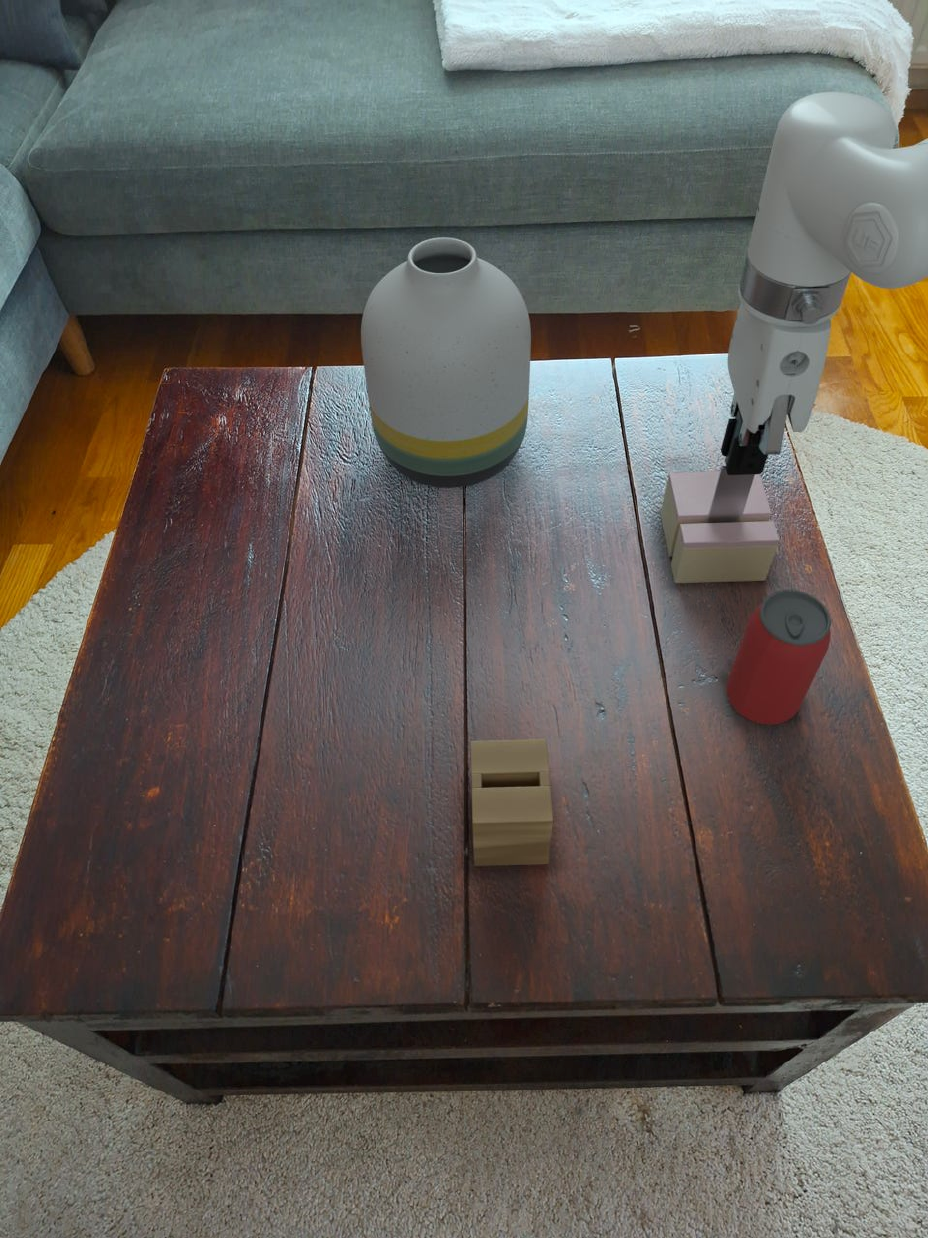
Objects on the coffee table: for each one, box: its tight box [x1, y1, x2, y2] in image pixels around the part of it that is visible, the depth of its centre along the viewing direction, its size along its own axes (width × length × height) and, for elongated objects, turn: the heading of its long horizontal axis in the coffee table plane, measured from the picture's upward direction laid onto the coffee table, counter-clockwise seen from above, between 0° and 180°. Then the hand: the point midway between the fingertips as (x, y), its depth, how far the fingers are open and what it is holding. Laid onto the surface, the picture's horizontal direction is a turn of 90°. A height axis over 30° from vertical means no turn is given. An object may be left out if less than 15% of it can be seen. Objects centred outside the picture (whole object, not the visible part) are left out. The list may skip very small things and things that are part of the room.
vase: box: [360, 236, 532, 489], centre depth 96 cm, size 17×17×24 cm
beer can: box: [725, 589, 832, 726], centre depth 80 cm, size 7×7×12 cm
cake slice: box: [670, 520, 780, 584], centre depth 91 cm, size 2×9×6 cm, turn 91°
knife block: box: [469, 738, 554, 867], centre depth 74 cm, size 7×6×8 cm
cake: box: [660, 470, 772, 558], centre depth 94 cm, size 6×9×6 cm, turn 91°
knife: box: [706, 410, 765, 523], centre depth 86 cm, size 2×3×16 cm, turn 91°
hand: (741, 462), depth 84 cm, fingers closed on knife, 1 cm apart
